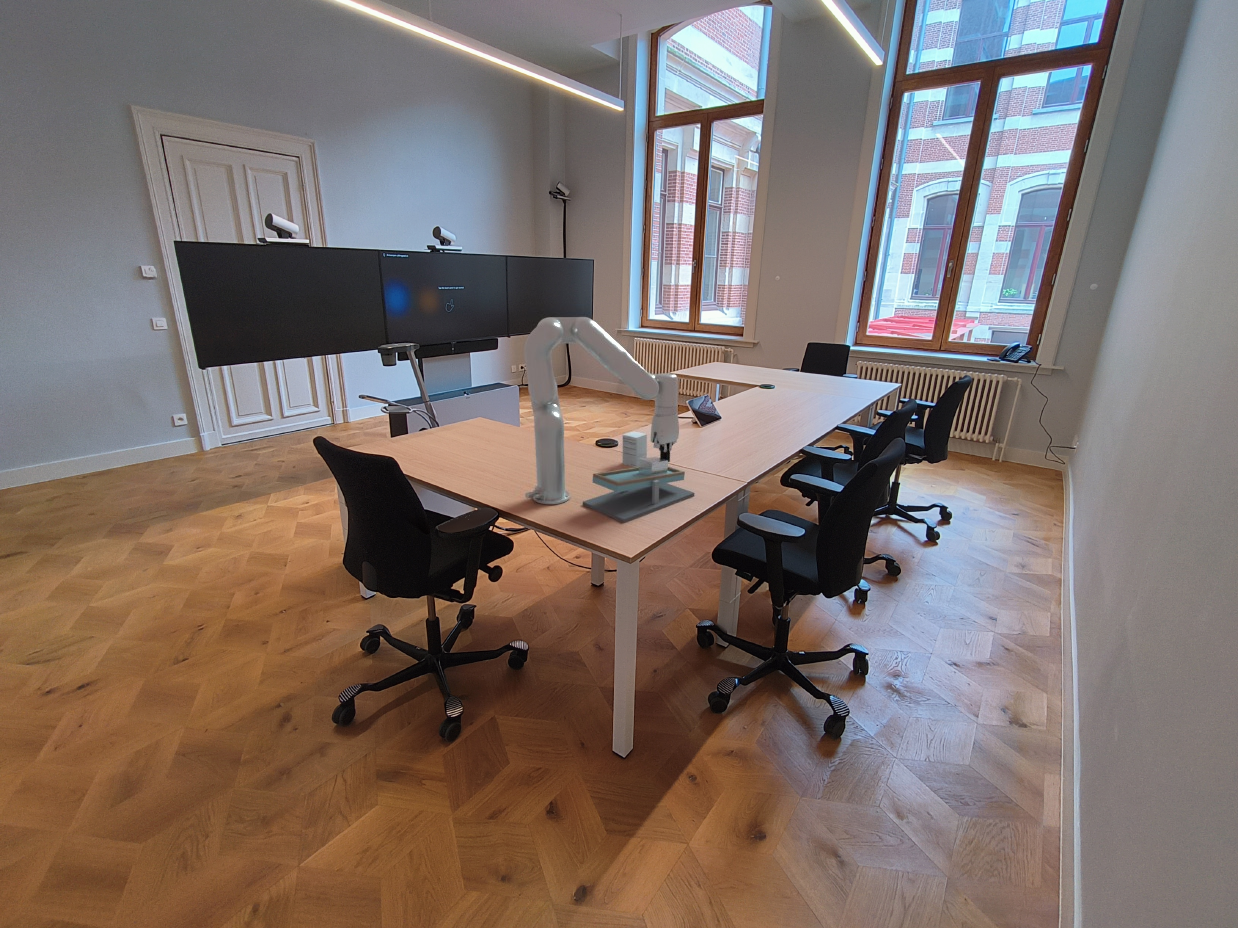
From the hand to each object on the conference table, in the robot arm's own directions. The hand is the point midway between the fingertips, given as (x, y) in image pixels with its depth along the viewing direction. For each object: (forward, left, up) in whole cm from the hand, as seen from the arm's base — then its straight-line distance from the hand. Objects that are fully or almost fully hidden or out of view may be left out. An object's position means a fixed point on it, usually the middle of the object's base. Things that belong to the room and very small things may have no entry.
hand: (664, 461), depth 196 cm
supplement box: (+15, +30, -12) cm, 36 cm away
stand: (-12, 0, -11) cm, 17 cm away
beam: (-12, 0, -3) cm, 13 cm away
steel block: (-6, 0, -3) cm, 7 cm away
